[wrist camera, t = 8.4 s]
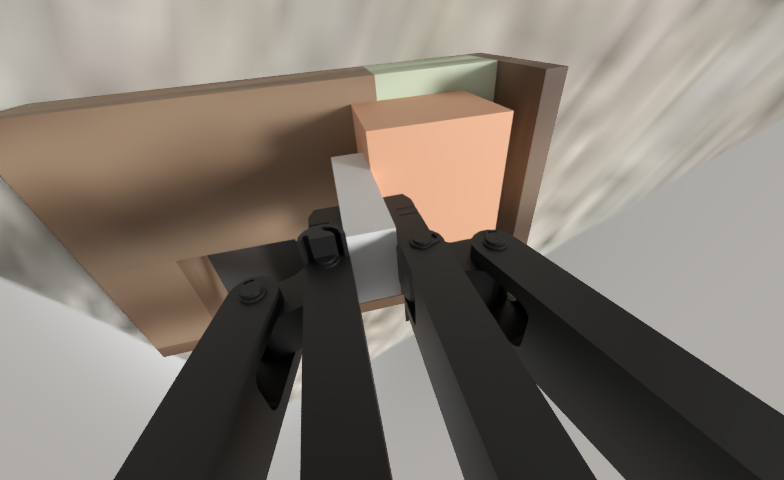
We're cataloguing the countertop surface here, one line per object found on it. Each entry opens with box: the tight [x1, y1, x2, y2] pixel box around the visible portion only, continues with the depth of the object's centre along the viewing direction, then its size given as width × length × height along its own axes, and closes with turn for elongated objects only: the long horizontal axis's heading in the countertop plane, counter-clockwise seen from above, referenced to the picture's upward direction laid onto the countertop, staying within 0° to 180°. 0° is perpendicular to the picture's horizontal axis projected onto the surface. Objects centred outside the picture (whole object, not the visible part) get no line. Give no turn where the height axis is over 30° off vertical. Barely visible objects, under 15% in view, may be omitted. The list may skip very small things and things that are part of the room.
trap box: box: [0, 53, 568, 357], centre depth 19 cm, size 16×25×8 cm, turn 95°
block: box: [351, 90, 514, 243], centre depth 15 cm, size 6×6×5 cm
